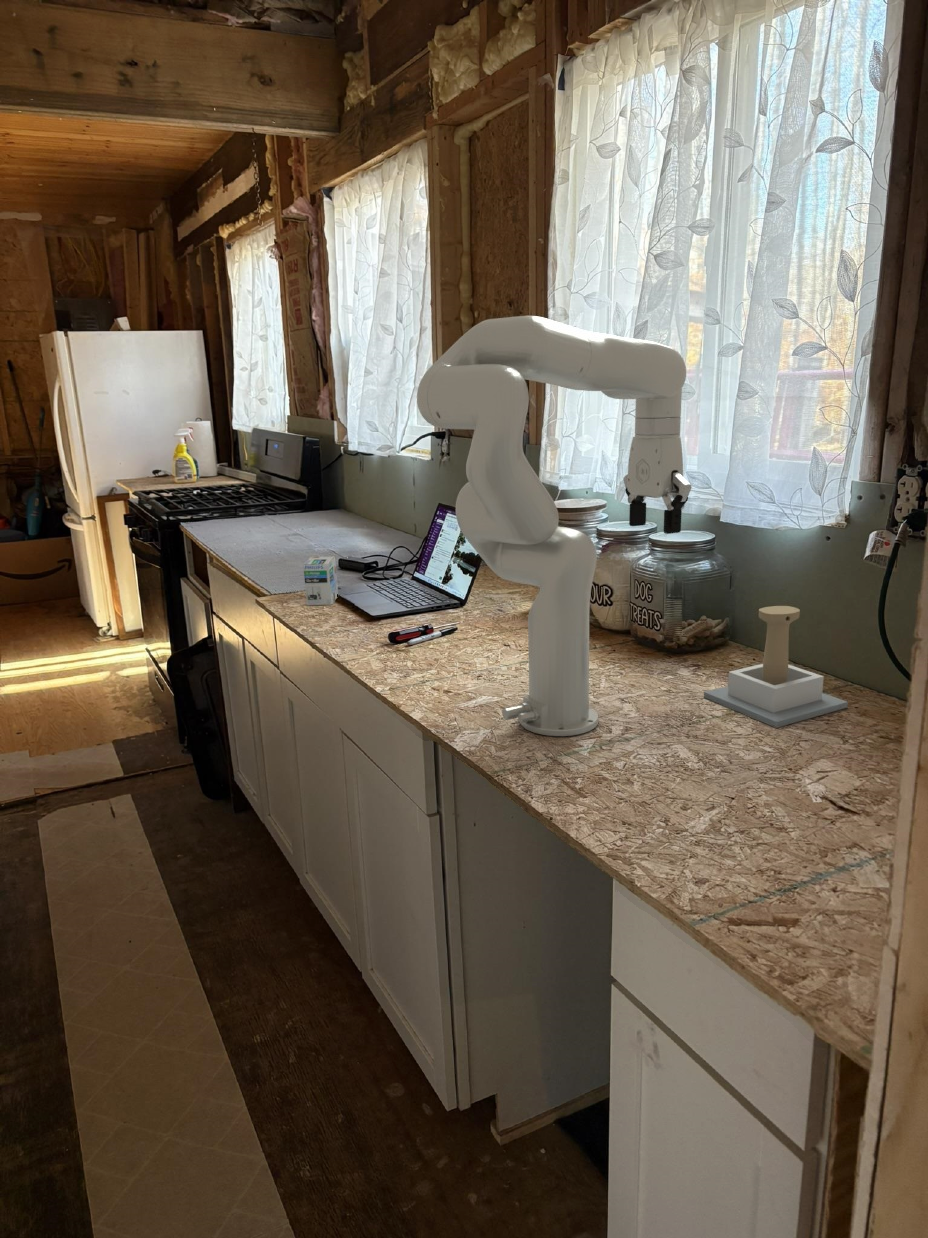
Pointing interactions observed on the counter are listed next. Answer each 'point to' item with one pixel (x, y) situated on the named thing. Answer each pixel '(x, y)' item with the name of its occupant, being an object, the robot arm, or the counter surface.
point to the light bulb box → (320, 580)
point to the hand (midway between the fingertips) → (654, 529)
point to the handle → (777, 642)
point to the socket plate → (776, 696)
